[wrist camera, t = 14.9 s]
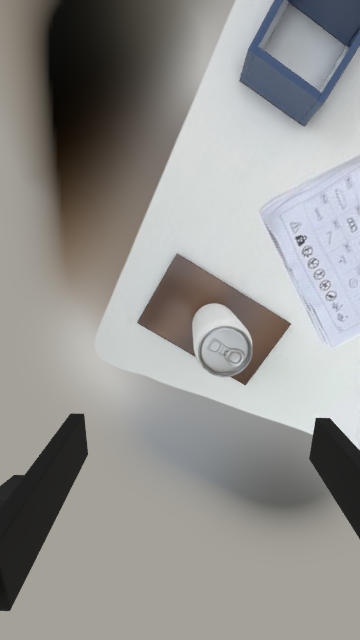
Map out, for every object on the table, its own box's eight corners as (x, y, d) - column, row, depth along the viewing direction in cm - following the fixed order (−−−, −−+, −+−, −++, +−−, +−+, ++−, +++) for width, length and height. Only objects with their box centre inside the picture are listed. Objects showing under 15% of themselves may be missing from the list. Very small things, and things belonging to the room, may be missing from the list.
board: (138, 321, 38) (137, 322, 37) (177, 253, 35) (176, 253, 34) (244, 382, 40) (245, 385, 39) (288, 322, 37) (291, 323, 36)
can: (220, 350, 38) (235, 390, 26) (184, 331, 37) (182, 363, 25) (243, 315, 36) (269, 341, 24) (205, 294, 36) (214, 310, 24)
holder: (239, 80, 30) (248, 49, 26) (288, -10, 28) (306, -60, 24) (304, 126, 31) (323, 104, 27) (355, 42, 29) (385, 4, 25)
